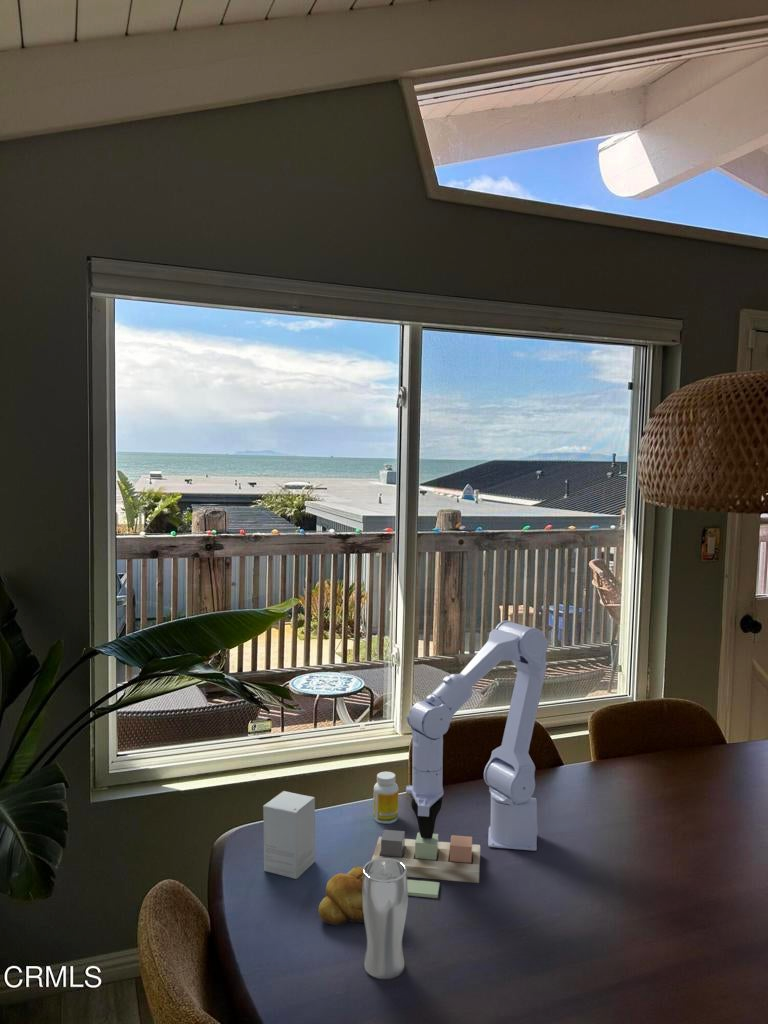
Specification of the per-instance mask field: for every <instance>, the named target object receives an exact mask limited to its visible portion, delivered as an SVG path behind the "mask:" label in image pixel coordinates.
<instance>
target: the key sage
mask: <svg viewBox="0 0 768 1024" xmlns="http://www.w3.org/2000/svg"><path fill="white" fill-rule="evenodd" d="M415 840H416V842H415V858H416V859H421V860H432V861H437V860H438V859H437V853H438V842H439V833H433V836H432V838H431V839H430V838H421V835H420V831H419V832H417V834H416V838H415Z"/></svg>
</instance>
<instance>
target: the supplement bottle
mask: <svg viewBox="0 0 768 1024" xmlns="http://www.w3.org/2000/svg"><path fill="white" fill-rule="evenodd" d="M396 780H397V779H396V774H395V772H391V771H381V772H378V773H377V774H376V783H375V784H374V786H373V796H372V797H373V802H372V803H373V805H372V808H373V809H372V811H373V812H372V813H373V820H374V821H375V822H377V823H379V824H386V825H388V824H393V823H395V822H396V821H397V820H398V819H399V785H398V784H397V783H396Z"/></svg>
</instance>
